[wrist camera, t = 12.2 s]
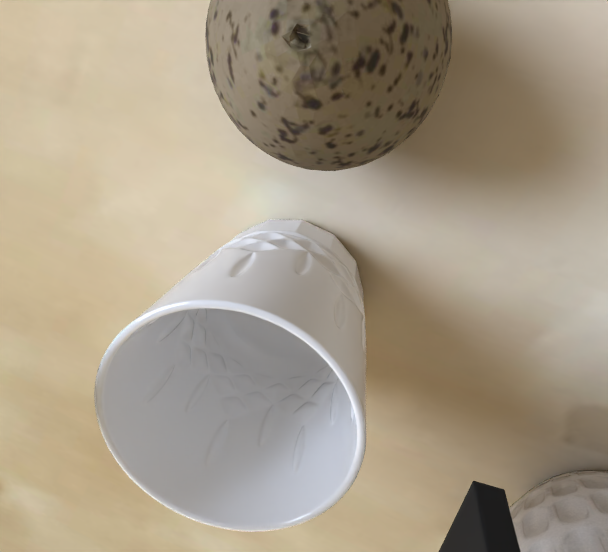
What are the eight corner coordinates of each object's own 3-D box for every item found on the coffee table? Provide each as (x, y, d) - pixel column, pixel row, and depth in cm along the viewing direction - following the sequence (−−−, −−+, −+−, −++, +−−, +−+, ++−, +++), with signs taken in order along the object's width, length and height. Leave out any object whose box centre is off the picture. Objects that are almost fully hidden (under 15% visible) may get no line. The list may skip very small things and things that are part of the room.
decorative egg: (398, -98, 18) (407, -277, 8) (464, 104, 20) (528, 137, 10) (219, 1, 20) (68, -56, 10) (295, 175, 22) (225, 255, 13)
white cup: (184, 224, 23) (49, 326, 14) (355, 186, 21) (327, 276, 12) (235, 372, 26) (149, 539, 17) (391, 349, 24) (391, 524, 15)
